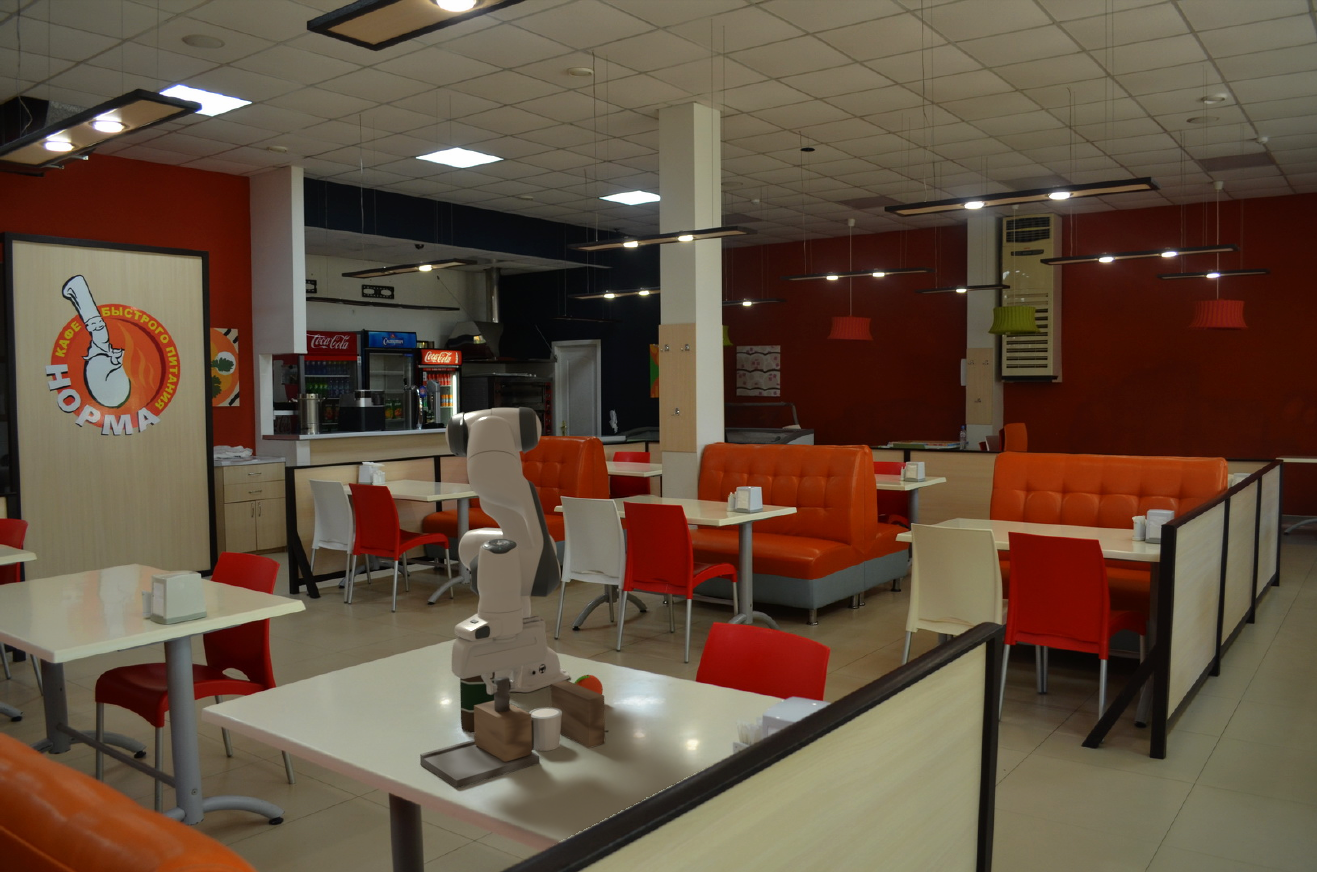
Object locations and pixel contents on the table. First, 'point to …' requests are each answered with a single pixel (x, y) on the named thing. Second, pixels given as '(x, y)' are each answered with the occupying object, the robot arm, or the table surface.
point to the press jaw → (503, 726)
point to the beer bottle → (472, 699)
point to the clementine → (590, 683)
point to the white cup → (546, 728)
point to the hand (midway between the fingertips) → (501, 691)
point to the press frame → (577, 723)
